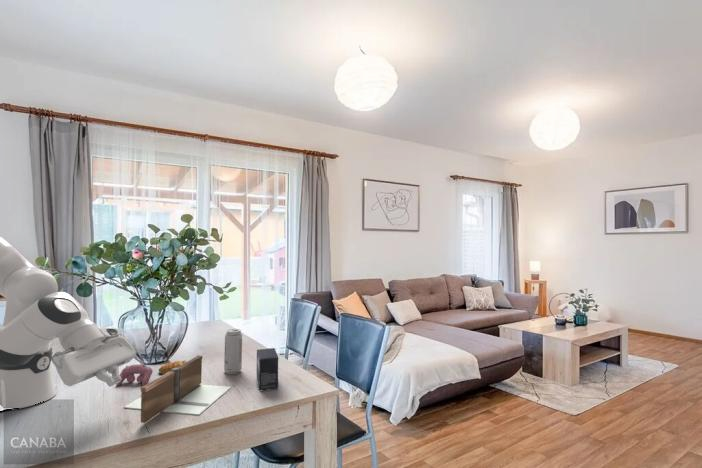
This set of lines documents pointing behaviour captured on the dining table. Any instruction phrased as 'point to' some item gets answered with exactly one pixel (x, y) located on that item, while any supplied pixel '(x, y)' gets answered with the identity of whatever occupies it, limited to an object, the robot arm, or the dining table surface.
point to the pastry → (170, 366)
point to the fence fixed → (187, 377)
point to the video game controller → (136, 369)
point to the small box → (267, 369)
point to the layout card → (191, 400)
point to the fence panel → (157, 396)
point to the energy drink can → (233, 351)
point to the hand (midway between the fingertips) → (116, 383)
